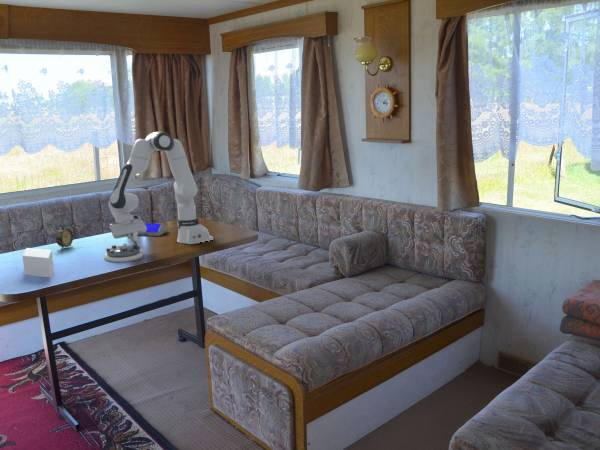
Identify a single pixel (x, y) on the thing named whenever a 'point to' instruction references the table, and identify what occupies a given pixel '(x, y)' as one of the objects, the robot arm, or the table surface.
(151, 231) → the blue screen device
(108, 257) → the base plate
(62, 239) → the alarm clock
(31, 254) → the white box
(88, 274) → the table surface
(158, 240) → the table surface
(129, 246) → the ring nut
